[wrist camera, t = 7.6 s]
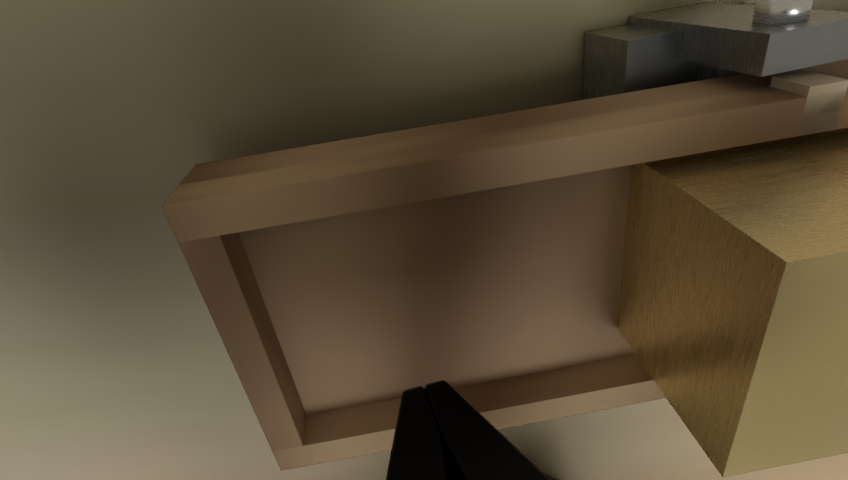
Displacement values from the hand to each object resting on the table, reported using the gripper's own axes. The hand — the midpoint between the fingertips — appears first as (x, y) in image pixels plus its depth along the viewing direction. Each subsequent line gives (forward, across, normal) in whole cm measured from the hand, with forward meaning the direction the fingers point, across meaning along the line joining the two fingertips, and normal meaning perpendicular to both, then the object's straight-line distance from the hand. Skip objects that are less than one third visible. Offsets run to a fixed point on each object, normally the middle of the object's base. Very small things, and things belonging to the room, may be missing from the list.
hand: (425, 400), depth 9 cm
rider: (+2, -9, 0) cm, 9 cm away
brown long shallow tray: (+3, -9, 0) cm, 10 cm away
